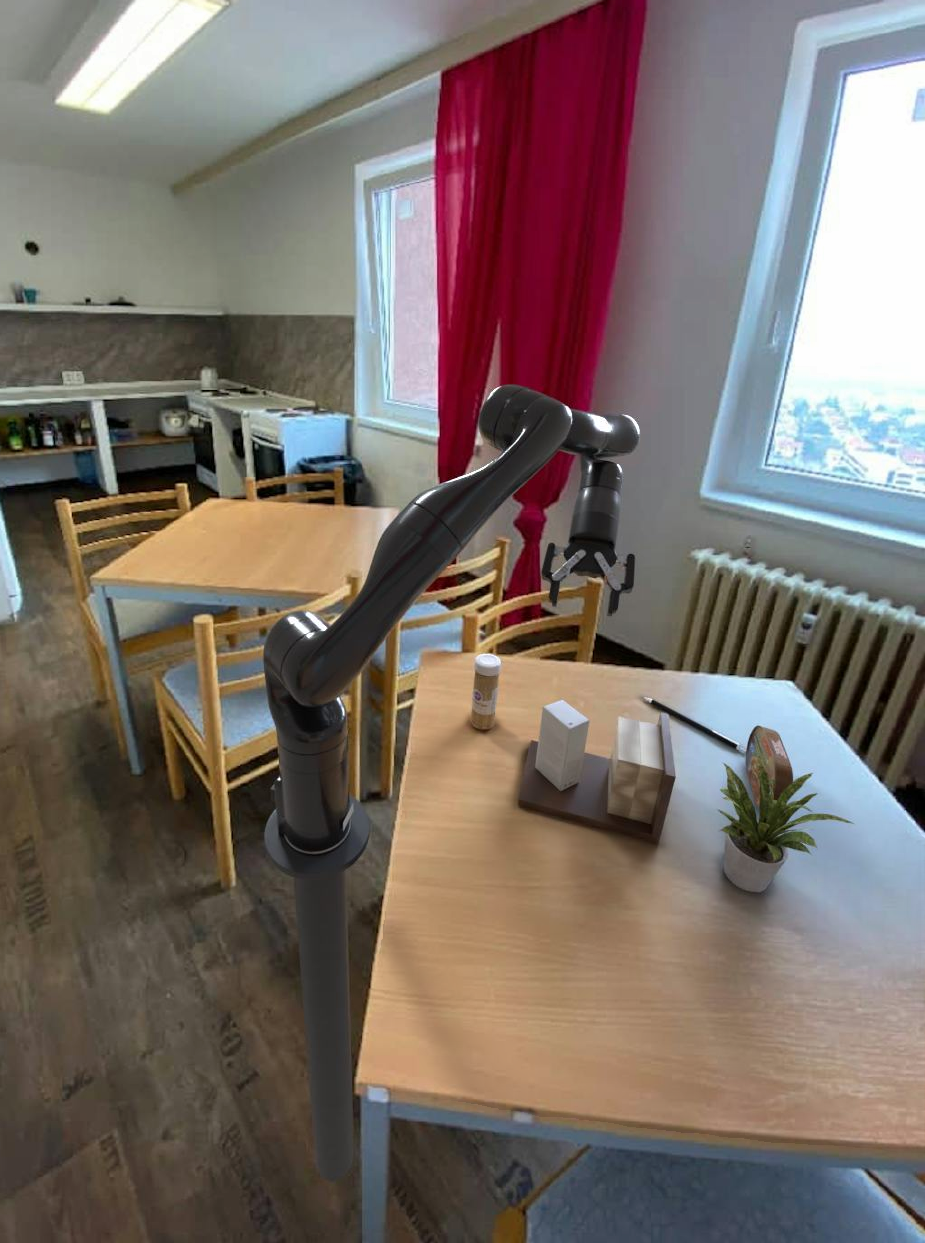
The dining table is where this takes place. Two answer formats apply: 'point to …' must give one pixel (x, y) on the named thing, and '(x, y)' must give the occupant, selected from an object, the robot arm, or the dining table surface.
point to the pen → (697, 725)
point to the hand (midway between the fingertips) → (581, 610)
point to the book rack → (613, 783)
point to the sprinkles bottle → (485, 691)
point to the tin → (768, 761)
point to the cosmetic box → (561, 744)
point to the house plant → (763, 830)
